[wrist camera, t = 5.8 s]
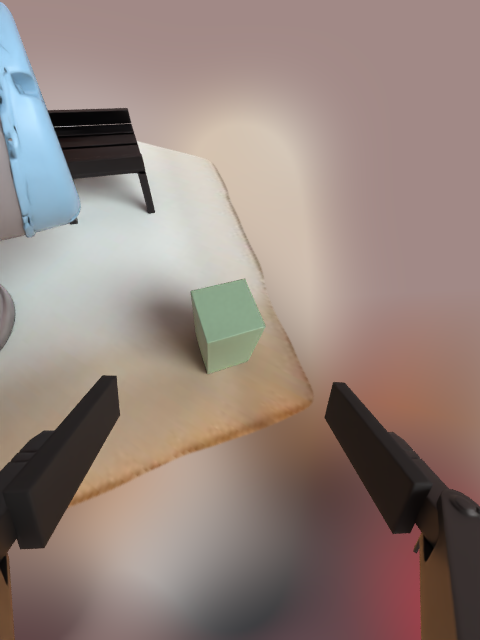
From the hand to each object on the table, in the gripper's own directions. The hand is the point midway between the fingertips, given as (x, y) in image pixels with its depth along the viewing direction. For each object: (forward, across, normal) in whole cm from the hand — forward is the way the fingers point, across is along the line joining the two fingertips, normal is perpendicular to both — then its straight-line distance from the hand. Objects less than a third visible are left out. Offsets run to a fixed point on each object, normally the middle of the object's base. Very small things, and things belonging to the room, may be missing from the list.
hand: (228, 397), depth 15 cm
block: (+14, 0, -3) cm, 14 cm away
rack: (+32, -19, +14) cm, 40 cm away
